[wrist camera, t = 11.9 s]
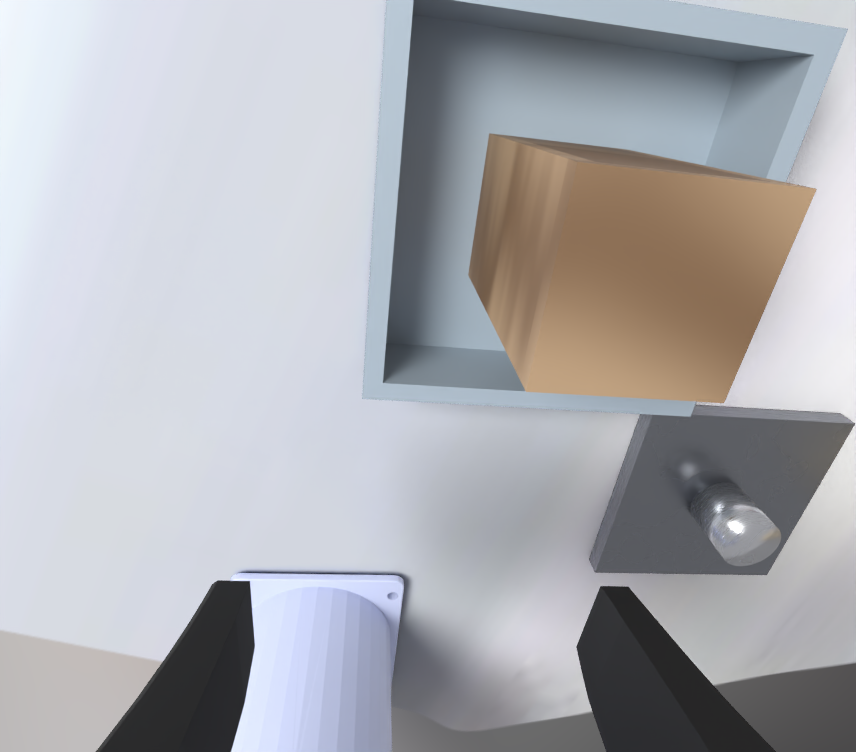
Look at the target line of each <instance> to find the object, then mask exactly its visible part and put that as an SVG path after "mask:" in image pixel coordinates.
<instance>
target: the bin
mask: <svg viewBox="0 0 856 752" xmlns="http://www.w3.org/2000/svg"><path fill="white" fill-rule="evenodd" d="M847 30H848V29H845V28H839V27H833V26H826V25H820V24H814V23H808V22H801V21H795V20H789V19H782V18H776V17H770V16H764V15H757V14H751V13H745V12H738V11H732V10H726V9H720V8H713V7H707V6H701V5H694V4H688V3H682V2H676V1H669V0H386V12H385V29H384V45H383V62H382V78H381V95H380V111H379V128H378V145H377V161H376V178H375V194H374V211H373V228H372V244H371V261H370V277H369V294H368V310H367V327H366V344H365V360H364V377H363V393H362V399H374V400H392V401H411V402H429V403H448V404H466V405H484V406H503V407H521V408H539V409H558V410H576V411H595V412H613V413H631V414H650V415H668V416H686V417H691V414H692V412H693V409H694V407H695V404H696V402H697V401H679V400H661V399H643V398H626V397H608V396H590V395H572V394H555V393H537V392H526V391H525V389H524V387H523V385H522V383H521V381H520V379H519V377H518V375H517V373H516V371H515V369H514V367H513V365H512V363H511V361H510V359H509V357H508V355H507V353H506V351H505V349H504V346H503V344H502V342H501V340H500V338H499V336H498V334H497V332H496V330H495V328H494V326H493V324H492V322H491V320H490V318H489V316H488V314H487V312H486V310H485V308H484V306H483V304H482V302H481V300H480V298H479V296H478V294H477V292H476V290H475V288H474V286H473V284H472V282H471V280H470V278H469V276H468V273H469V266H470V259H471V253H472V246H473V239H474V232H475V226H476V219H477V212H478V205H479V199H480V192H481V185H482V178H483V172H484V165H485V158H486V151H487V145H488V138H489V133H491V134H500V135H508V136H517V137H525V138H534V139H542V140H551V141H559V142H568V143H576V144H585V145H593V146H602V147H610V148H619V149H627V150H632V151H637V152H642V153H647V154H651V155H656V156H661V157H666V158H671V159H675V160H680V161H685V162H690V163H695V164H699V165H704V166H709V167H714V168H719V169H723V170H728V171H733V172H738V173H743V174H747V175H752V176H757V177H762V178H767V179H771V180H776V181H781V182H786V180H787V178H788V175H789V173H790V171H791V168H792V166H793V163H794V161H795V158H796V156H797V153H798V151H799V148H800V146H801V144H802V141H803V139H804V136H805V134H806V131H807V129H808V126H809V124H810V121H811V119H812V116H813V114H814V112H815V109H816V107H817V104H818V102H819V99H820V97H821V94H822V92H823V89H824V87H825V85H826V82H827V80H828V77H829V75H830V72H831V70H832V67H833V65H834V62H835V60H836V57H837V55H838V53H839V50H840V48H841V45H842V43H843V40H844V38H845V35H846V33H847Z"/></svg>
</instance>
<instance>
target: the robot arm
mask: <svg viewBox="0 0 856 752" xmlns="http://www.w3.org/2000/svg"><path fill="white" fill-rule="evenodd" d="M391 592H394V593H391ZM403 593H404V581H403V579H402V578H401V577H399V576H396V575H342V574H267V573H239V574H235V575H233V576H232V577H231V580H230V581H216V582H215V583H214V584H212V586H211V587H210V589H209V591H208V593H207V594H206V596H205V598H204V600H203V601H202V603H201V604H200V606H199V608H198V609H197V611H196V613H195V614H194V616H193V617H192V619H191V621H190V622H189V624H188V625H187V627H186V628H185V630H184V631H183V633H182V634H181V636H180V637H179V639H178V640H177V642H176V643H175V645H174V646H173V648H172V650H171V651H170V652H169V654H168V655H167V657H166V658H165V660H164V661H163V662H162V664H161V665H160V667H159V668H158V669H157V671H156V672H155V674H154V675H153V677H152V678H151V680H150V681H149V682H148V684H147V685H146V686H145V688H144V689H143V691H142V692H141V694H140V695H139V696H138V698H137V699H136V700H135V702H134V703H133V704H132V706H131V707H130V708H129V710H128V711H127V712H126V713H125V715H124V716H123V717H122V719H121V720H120V721H119V723H118V724H117V725H116V726H115V728H114V729H113V730H112V732H111V733H110V734H109V736H108V737H107V738H106V739H105V741H104V742H103V743H102V745H101V746H100V747H99V748H98V750H97V751H96V752H392V722H391V721H392V720H391V717H392V716H391V686H392V678H393V670H394V662H395V655H396V647H397V639H398V631H399V624H400V616H401V608H402V600H403ZM577 651H578V656H579V660H580V665H581V670H582V674H583V678H584V682H585V687H586V691H587V695H588V699H589V702H590V705H591V708H592V711H593V714H594V717H595V719H596V722H597V725H598V729H599V731H600V734H601V737H602V740H603V743H604V746H605V749H606V752H776V751H775V750H774V749H773V748H772V747H771V746H770V745H769V744H768V743H767V742H766V741H765V740H764V739H763V738H762V737H761V736H760V735H759V734H758V733H757V732H756V731H755V730H754V729H753V728H752V727H751V726H750V725H749V724H748V722H747V721H745V719H744V718H743V717H742V716H741V715H740V714H739V713H738V712H737V711H736V710H735V709H734V708H733V707H732V706H731V704H729V702H728V701H727V700H726V699H725V698H724V697H723V696H722V695H721V694H720V692H718V690H717V689H716V688H715V687H714V686H713V685H712V684H711V682H710V681H709V680H708V679H707V678H706V677H705V676H704V675H703V673H702V672H701V671H700V670H699V669H698V668H697V667H696V666H695V664H694V663H693V662H692V661H691V660H690V659H689V658H688V656H687V655H686V654H685V653H684V652H683V651H682V649H681V648H680V647H679V646H678V645H677V644H676V642H675V641H674V640H673V639H672V638H671V637H670V635H669V634H668V633H667V632H666V631H665V630H664V628H663V627H662V626H661V625H660V624H659V623H658V621H657V620H656V619H655V618H654V617H653V615H652V614H651V613H650V612H649V611H648V610H647V608H646V607H645V606H644V605H643V604H642V602H641V601H640V600H639V599H638V598H637V597H636V595H635V594H634V593H633V592H632V591H631V590H630V588H629V587H616V586H601V587H600V589H599V592H598V594H597V597H596V599H595V602H594V604H593V607H592V609H591V612H590V614H589V617H588V619H587V622H586V624H585V627H584V629H583V632H582V634H581V637H580V639H579V642H578V644H577Z"/></svg>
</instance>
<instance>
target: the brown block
mask: <svg viewBox="0 0 856 752" xmlns="http://www.w3.org/2000/svg"><path fill="white" fill-rule="evenodd" d="M815 192H816V189H815V188H810V187H805V186H800V185H795V184H791V183H786V182H781V181H776V180H771V179H767V178H762V177H757V176H752V175H747V174H743V173H738V172H733V171H728V170H723V169H719V168H714V167H709V166H704V165H699V164H695V163H690V162H685V161H680V160H675V159H671V158H666V157H661V156H656V155H651V154H647V153H642V152H637V151H632V150H627V149H619V148H610V147H602V146H593V145H585V144H576V143H568V142H559V141H551V140H542V139H534V138H525V137H517V136H508V135H500V134H491V133H489V138H488V145H487V151H486V158H485V165H484V172H483V178H482V185H481V192H480V199H479V205H478V212H477V219H476V226H475V232H474V239H473V246H472V253H471V259H470V266H469V273H468V276H469V278H470V280H471V282H472V284H473V286H474V288H475V290H476V292H477V294H478V296H479V298H480V300H481V302H482V304H483V306H484V308H485V310H486V312H487V314H488V316H489V318H490V320H491V322H492V324H493V326H494V328H495V330H496V332H497V334H498V336H499V338H500V340H501V342H502V344H503V346H504V349H505V351H506V353H507V355H508V357H509V359H510V361H511V363H512V365H513V367H514V369H515V371H516V373H517V375H518V377H519V379H520V381H521V383H522V385H523V387H524V389H525V391H526V392H537V393H555V394H572V395H590V396H608V397H626V398H643V399H661V400H679V401H697V402H714V403H724V402H725V399H726V397H727V395H728V392H729V390H730V388H731V386H732V383H733V381H734V379H735V376H736V374H737V372H738V369H739V367H740V365H741V362H742V360H743V358H744V356H745V353H746V351H747V349H748V346H749V344H750V342H751V339H752V337H753V335H754V332H755V330H756V328H757V326H758V323H759V321H760V319H761V316H762V314H763V312H764V309H765V307H766V305H767V302H768V300H769V298H770V296H771V293H772V291H773V289H774V286H775V284H776V282H777V279H778V277H779V275H780V272H781V270H782V268H783V266H784V263H785V261H786V259H787V256H788V254H789V252H790V249H791V247H792V245H793V242H794V240H795V238H796V235H797V233H798V231H799V229H800V226H801V224H802V222H803V219H804V217H805V215H806V212H807V210H808V208H809V205H810V203H811V201H812V199H813V196H814V194H815Z"/></svg>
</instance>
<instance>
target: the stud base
mask: <svg viewBox="0 0 856 752" xmlns="http://www.w3.org/2000/svg"><path fill="white" fill-rule="evenodd" d="M854 425H855V423H853V422H852V421H851V420H849V419H848V418H846V417H845V416H843V415H842V414H840V413H823V412H806V411H789V410H771V409H754V408H736V407H719V406H702V405H695V407H694V409H693V412H692V414H691V417H686V416H668V415H650V414H640V417H639V419H638V422H637V425H636V428H635V431H634V434H633V436H632V439H631V442H630V445H629V448H628V451H627V453H626V456H625V459H624V462H623V465H622V468H621V470H620V473H619V476H618V479H617V482H616V485H615V487H614V490H613V493H612V496H611V499H610V502H609V504H608V507H607V510H606V513H605V516H604V518H603V521H602V524H601V527H600V530H599V533H598V535H597V538H596V541H595V544H594V547H593V550H592V552H591V555H590V558H589V560H590V563H591V565H592V567H593V569H594V571H595V572H596V573H664V574H733V575H767V574H768V572H769V570H770V569H771V567H772V565H773V563H774V562H775V560H776V558H777V557H778V555H779V553H780V551H781V550H782V548H783V546H784V545H785V543H786V541H787V539H788V538H789V536H790V534H791V533H792V531H793V529H794V527H795V526H796V524H797V522H798V521H799V519H800V517H801V515H802V514H803V512H804V510H805V509H806V507H807V505H808V503H809V502H810V500H811V498H812V497H813V495H814V493H815V492H816V490H817V488H818V486H819V485H820V483H821V481H822V480H823V478H824V476H825V474H826V473H827V471H828V469H829V468H830V466H831V464H832V462H833V461H834V459H835V457H836V456H837V454H838V452H839V450H840V449H841V447H842V445H843V444H844V442H845V440H846V438H847V437H848V435H849V433H850V432H851V430H852V428H853V426H854Z"/></svg>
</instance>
